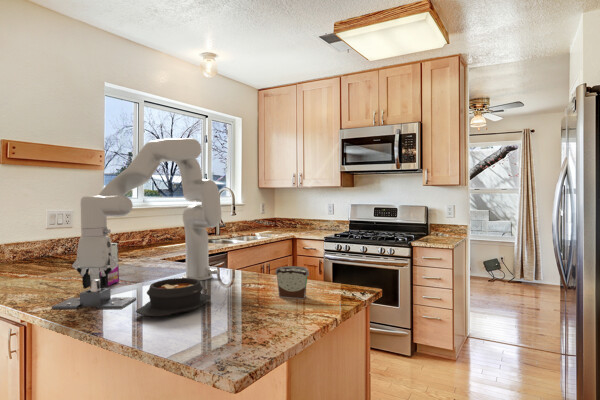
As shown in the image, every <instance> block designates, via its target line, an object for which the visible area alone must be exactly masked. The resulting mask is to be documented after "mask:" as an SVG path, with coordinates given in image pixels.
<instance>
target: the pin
mask: <svg viewBox="0 0 600 400" xmlns="http://www.w3.org/2000/svg"><path fill="white" fill-rule="evenodd" d="M89 289H90V292H100V291H101V288H100V279H94V280H90V287H89Z"/></svg>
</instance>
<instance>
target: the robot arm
mask: <svg viewBox="0 0 600 400" xmlns="http://www.w3.org/2000/svg"><path fill="white" fill-rule="evenodd" d="M201 153H202V146H201V143H200V141H198V140H197V139H196V138H193V137H184V138H162V139H154V140H150V141H148V142H146V143H145V144H144V145H143V146H142V147H141V149H140V150H139V152H138V153H137V154H136V156H135V157H134V159H133V160H132V161H131V163H130V164H129V165H128V166H127V167H126V168H125V169H123V171H121V172H120V173H119V174H118V175H116V176H115V177H114V178H113V179H111V180H110V181H109V182H108V183H107V184H106V185H105V186H104V188H103V189H102V190H101V192H99V194H98V195H85V196H82V197H81V198H80V229H81V230H80V233H81V234H80V237H79V240H78V243H77V251H76V259H75V260H74V262H73V264H72V265H71V267H72V268H73V269H74V270H75V271H77V272H78V273H79V274H80V277H81V279H82V288H83V290H84V289H86V290H87V289H88V288H90V280H91V277H90V268H100V271H101V275H102V276H101V277H100V288H101V289H103V288H108V286H107V285H108V274H109V273H110V272H111V271H112V270H113V269H114V268H115V267H117V263H116V262H115V261H114V259H113V251H112V244H111V243H112V240H111V237H110V236H109V235H108V234H110V233H111V229H109V228H108V226H107V225H108V224H107V223H108V222H107V221H108V220H107V217H115V218H116V217H117V218H118V217H120V218H121V217H124V216H127V215H129V214H130V213H131V211H132V210H133V207H134V206H133V205H134V204H133V201H132V200H131V199H130V197H128V196H127V194H128V193H129V192H130V191H132V190H134V189H136V188H139V187H141V186H143V185H145V184H146V183H148V182H149V181H150V179H151V178H152V177H153V175H154V174H155V172H156V170H158V168H159V166H160V165H161V164H162V163H164V162H165V163H166V162H174V163H175V164H176V165H177V167H178V169H179V173H180V178H181V184H182V193H183V197H184V199H185V200H186V201H188V202H192V203H196V202H197V203H201V204H191V205H188V206H187V207H185V209H184V210H183V212H182V222H183V226H184V234H185V274H183V275H182V278H190V279H196V280H199V281H200V282H201V281H206V280H209V279H212V278H213V275H219V273H220V272H219V269H217V268H211V266H210V265H209V262H210V261H209V260H210V259H209V234H208V231H207V229H206V228H215V227H217V226H219V224H221V220H222V205H221V197H220V190H219V187H218V185H217V183H216V182H215V181H214V180H212V179H209V178H207V179H206V178H203V174H202V169H201V166H200V162H199V161H198V159H197V158H198V157H199V156H200V155H201ZM107 265H111V266H110V267H109V268H108V266H107Z"/></svg>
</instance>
